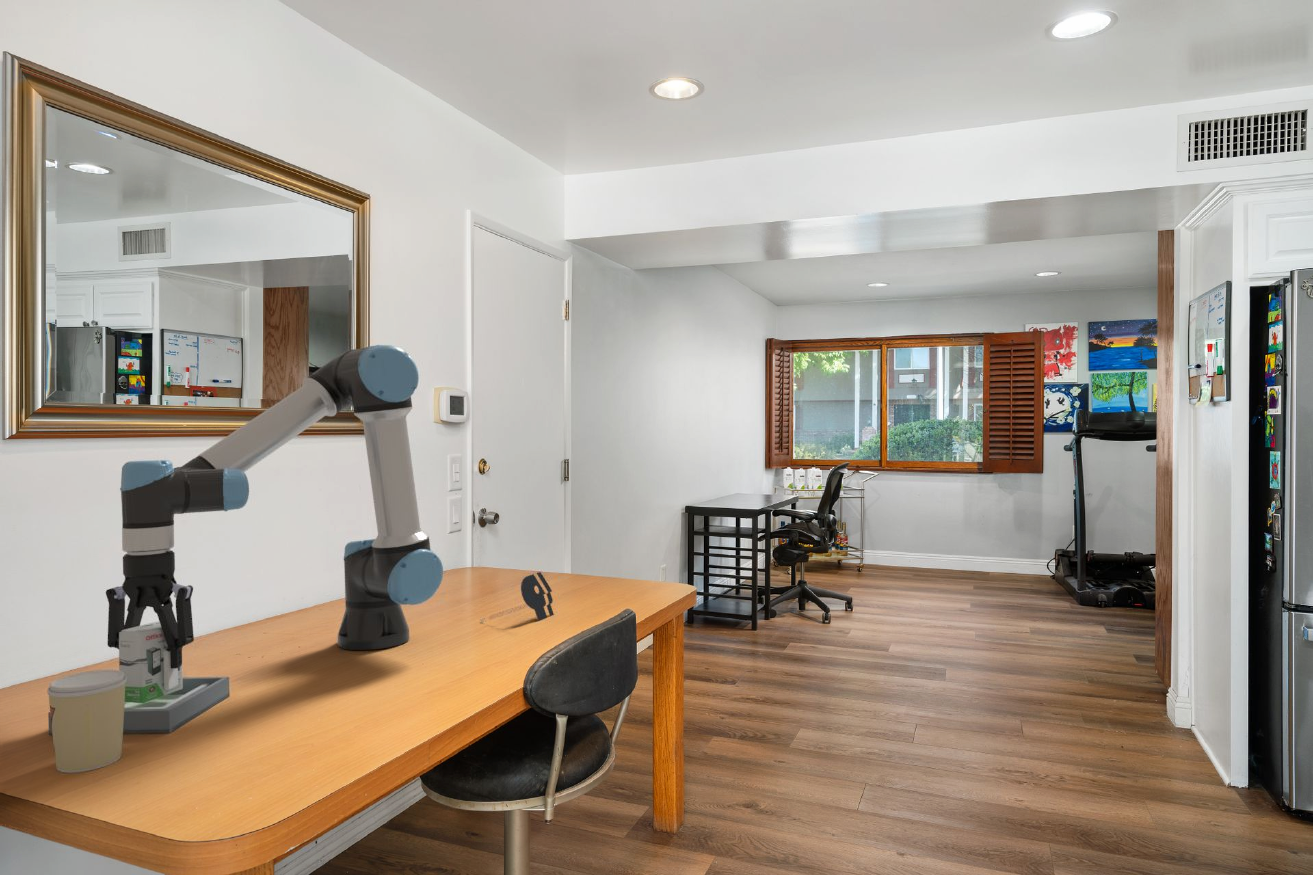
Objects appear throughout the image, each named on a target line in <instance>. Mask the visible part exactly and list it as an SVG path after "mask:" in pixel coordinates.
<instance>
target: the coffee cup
mask: <svg viewBox="0 0 1313 875" xmlns="http://www.w3.org/2000/svg"><path fill="white" fill-rule="evenodd" d="M126 680H127V678H126V676H124V673H123V672H122V671H119V669H118V670H117V669H97V670H88V671H82V672H78V673H77V672H76V673H73V674H68V675H66V676H62V677H59V678H57V679H54V680H53V681H51V682H50V683H49V687H48V688H47V690H46V691H47V695H48V702H49V712H50V715H51V725H52V734H53V735H52V740H53V741H52V742H53V743H52V744H53V750H54V752H53V753H54V760H55V766H56V770H57V771H58V772H61V773H67V774H69V773H70V774H71V773H83V772H89V771H92V770H93V771H94V770H96V769H97V770H98V769H101V768H104V767H107V766H110V765H112V764H114V763H116V762H118V761H119V759H120V758H121V756H122V754H123V753H122V752H123V737H124V734H123V722H124V705H125V683H126Z"/></svg>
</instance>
